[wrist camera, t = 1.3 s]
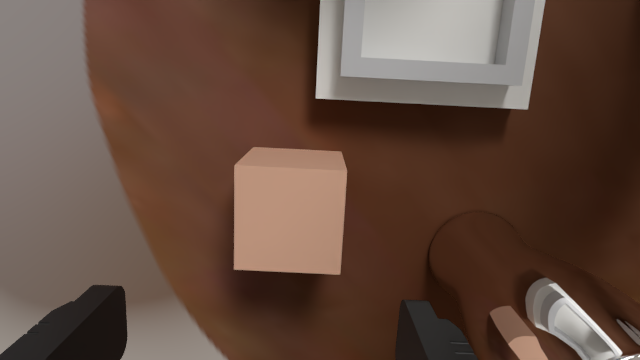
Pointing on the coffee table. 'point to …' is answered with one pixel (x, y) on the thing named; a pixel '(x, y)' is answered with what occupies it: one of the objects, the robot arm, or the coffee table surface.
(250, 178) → the terracotta block
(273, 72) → the coffee table surface
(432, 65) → the grey stand
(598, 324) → the beer glass
